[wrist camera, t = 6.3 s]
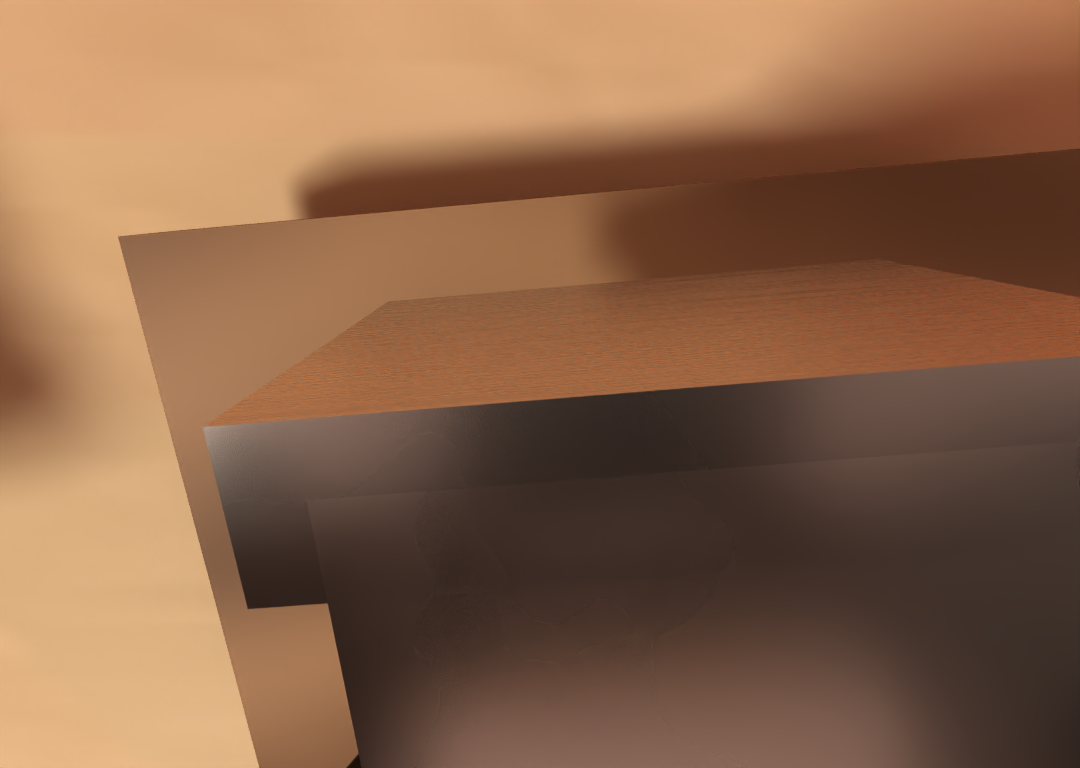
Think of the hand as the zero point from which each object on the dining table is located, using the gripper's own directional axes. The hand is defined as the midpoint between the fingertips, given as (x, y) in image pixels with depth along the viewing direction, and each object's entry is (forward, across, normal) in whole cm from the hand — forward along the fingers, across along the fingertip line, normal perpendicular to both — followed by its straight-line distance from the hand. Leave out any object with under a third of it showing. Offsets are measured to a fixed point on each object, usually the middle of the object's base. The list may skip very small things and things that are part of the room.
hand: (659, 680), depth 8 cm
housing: (+1, 0, 0) cm, 1 cm away
